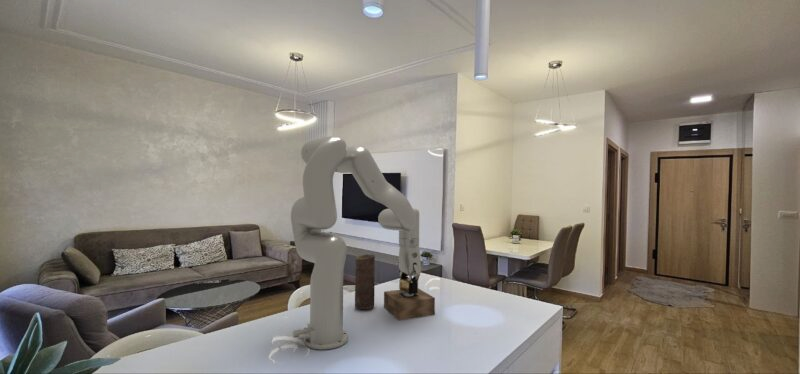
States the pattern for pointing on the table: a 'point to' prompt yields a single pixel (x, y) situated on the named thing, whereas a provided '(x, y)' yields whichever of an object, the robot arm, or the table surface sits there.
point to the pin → (405, 287)
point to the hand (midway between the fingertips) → (408, 290)
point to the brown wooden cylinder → (364, 281)
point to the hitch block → (409, 304)
